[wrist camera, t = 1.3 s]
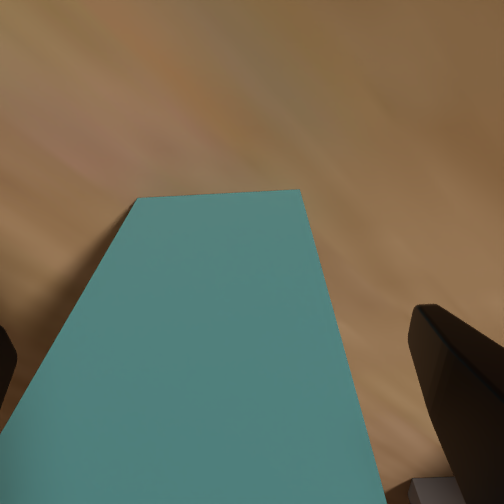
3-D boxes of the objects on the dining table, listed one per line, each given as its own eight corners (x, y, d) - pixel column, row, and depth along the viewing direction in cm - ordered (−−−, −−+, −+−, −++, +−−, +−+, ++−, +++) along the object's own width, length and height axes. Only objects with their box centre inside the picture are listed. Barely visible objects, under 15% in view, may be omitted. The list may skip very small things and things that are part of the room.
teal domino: (299, 189, 12) (418, 615, 4) (299, 235, 13) (395, 667, 4) (137, 197, 12) (-115, 631, 4) (147, 242, 13) (-40, 680, 5)
